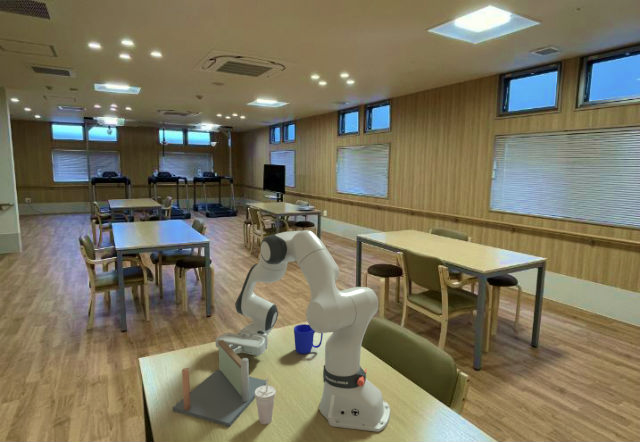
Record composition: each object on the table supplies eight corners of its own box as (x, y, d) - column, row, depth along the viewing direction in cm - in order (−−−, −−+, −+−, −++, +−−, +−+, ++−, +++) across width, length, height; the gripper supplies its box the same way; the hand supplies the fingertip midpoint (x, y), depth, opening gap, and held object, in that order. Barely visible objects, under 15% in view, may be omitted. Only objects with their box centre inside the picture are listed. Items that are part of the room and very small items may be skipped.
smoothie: (272, 428, 113) (271, 385, 111) (251, 425, 114) (250, 382, 112) (278, 415, 119) (278, 373, 117) (259, 412, 121) (258, 370, 118)
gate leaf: (245, 394, 126) (245, 363, 125) (240, 396, 125) (240, 364, 124) (223, 367, 143) (222, 339, 141) (219, 368, 142) (218, 341, 140)
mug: (322, 356, 156) (322, 333, 154) (293, 355, 156) (293, 332, 154) (322, 346, 164) (323, 324, 162) (294, 346, 164) (294, 323, 163)
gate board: (267, 383, 136) (267, 343, 134) (229, 426, 114) (228, 379, 111) (217, 372, 143) (216, 333, 141) (172, 410, 121) (170, 365, 119)
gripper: (226, 326, 159) (206, 340, 147) (270, 334, 152) (253, 349, 140) (227, 340, 160) (206, 355, 147) (270, 349, 153) (253, 365, 141)
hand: (229, 353), depth 143 cm, fingers closed
